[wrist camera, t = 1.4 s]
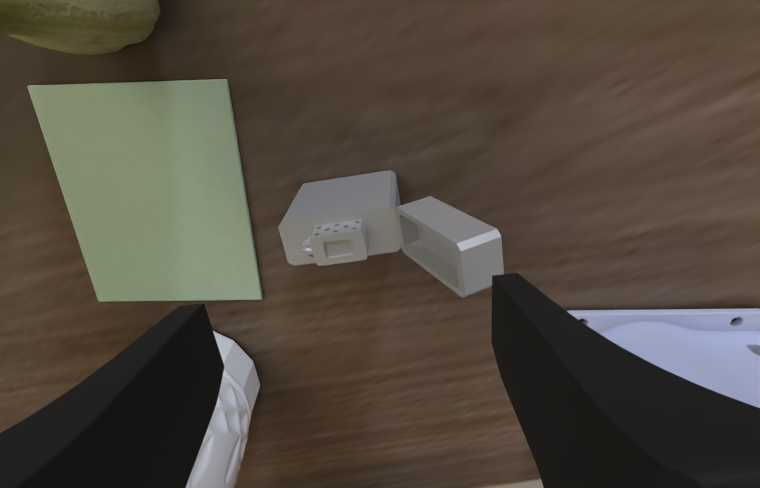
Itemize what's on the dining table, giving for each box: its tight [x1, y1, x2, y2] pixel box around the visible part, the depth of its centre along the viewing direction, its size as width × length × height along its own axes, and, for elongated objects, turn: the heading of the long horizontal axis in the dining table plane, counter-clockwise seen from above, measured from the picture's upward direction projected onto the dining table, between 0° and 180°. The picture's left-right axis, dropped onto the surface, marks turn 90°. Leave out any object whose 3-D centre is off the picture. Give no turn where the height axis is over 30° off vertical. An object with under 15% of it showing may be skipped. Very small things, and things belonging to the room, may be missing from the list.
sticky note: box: [27, 79, 263, 302], centre depth 21 cm, size 8×10×1 cm
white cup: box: [186, 331, 260, 488], centre depth 21 cm, size 8×8×10 cm
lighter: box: [278, 170, 504, 298], centre depth 17 cm, size 7×2×8 cm, turn 100°
